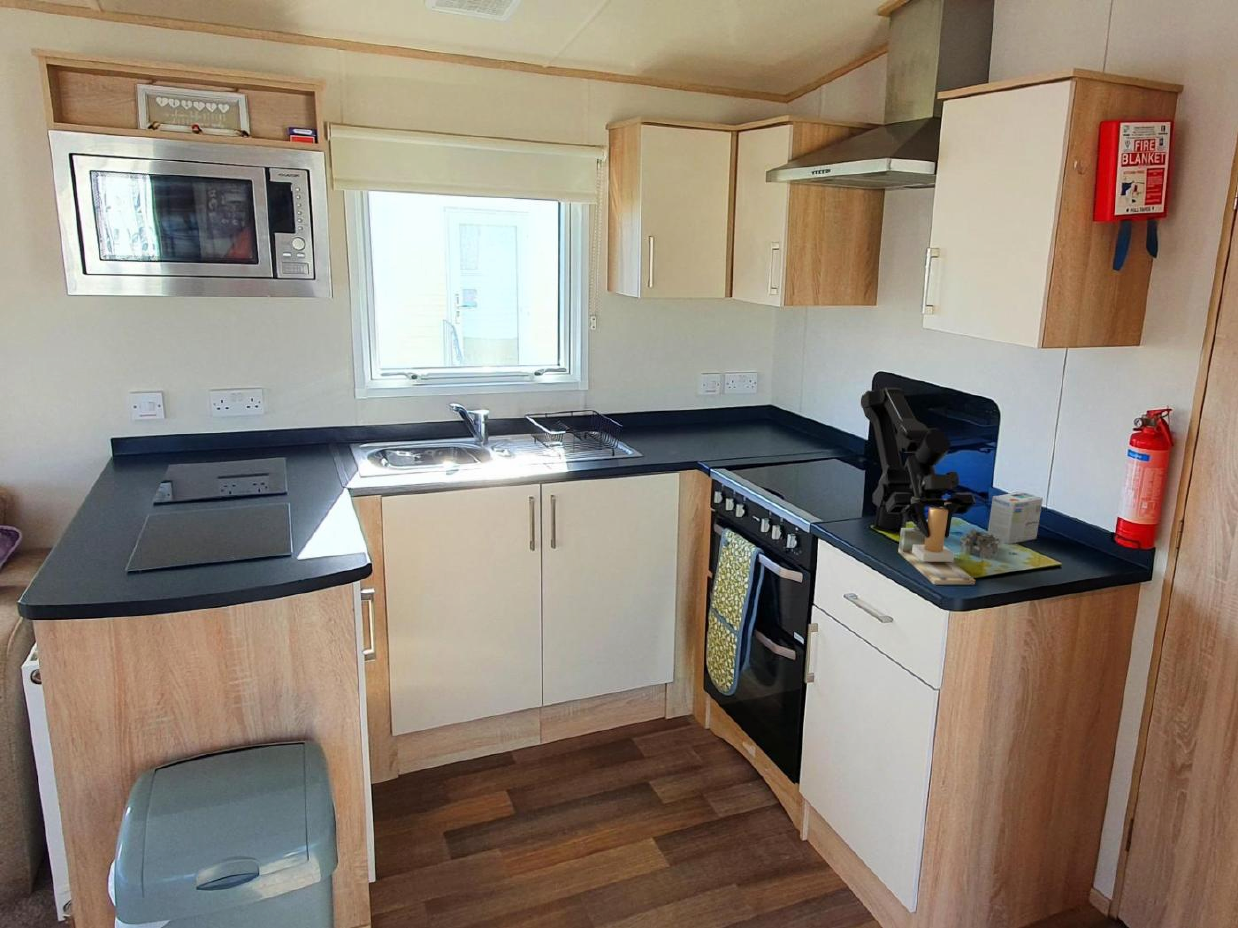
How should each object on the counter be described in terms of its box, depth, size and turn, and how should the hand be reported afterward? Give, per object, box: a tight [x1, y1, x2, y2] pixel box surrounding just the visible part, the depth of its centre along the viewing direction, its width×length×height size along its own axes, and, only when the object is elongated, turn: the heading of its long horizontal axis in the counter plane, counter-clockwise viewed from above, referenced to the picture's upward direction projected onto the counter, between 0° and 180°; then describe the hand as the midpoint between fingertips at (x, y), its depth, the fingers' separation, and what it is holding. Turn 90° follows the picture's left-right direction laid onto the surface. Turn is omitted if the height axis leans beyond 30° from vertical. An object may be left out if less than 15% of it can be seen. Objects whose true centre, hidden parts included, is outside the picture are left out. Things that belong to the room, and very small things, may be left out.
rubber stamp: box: [912, 507, 955, 562], centre depth 192 cm, size 6×7×11 cm
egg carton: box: [960, 528, 1001, 559], centre depth 204 cm, size 11×8×4 cm
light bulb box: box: [987, 491, 1043, 545], centre depth 213 cm, size 11×7×11 cm, turn 118°
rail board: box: [897, 525, 976, 585], centre depth 192 cm, size 20×9×6 cm, turn 4°
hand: (937, 537), depth 191 cm, fingers closed on rubber stamp, 4 cm apart
